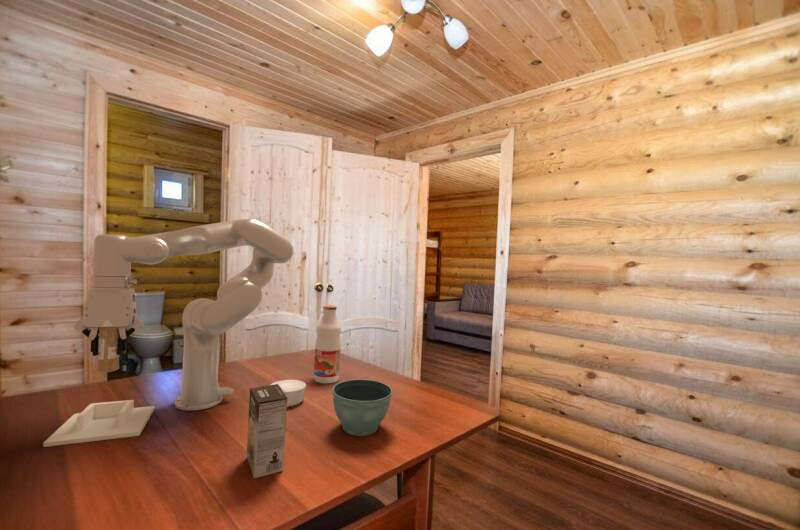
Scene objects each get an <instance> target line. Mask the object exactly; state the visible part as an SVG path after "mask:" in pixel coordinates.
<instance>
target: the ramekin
mask: <svg viewBox="0 0 800 530" xmlns="http://www.w3.org/2000/svg"><path fill="white" fill-rule="evenodd" d="M275 384H278V385H279V386H280V388H281V389H282V391H283V392H284V393H285V395H286V396H287V408H290V407H289V406H291V407H295V406H298V405H299V404H300V402H301V403H302V402H303V400H304V397H305V391H306V389H307V384H306V382H304V381H302V380H298V379H284V380H278V381H275V382H272V383H271V384H270V385H275ZM297 404H298V405H297ZM294 405H295V406H294Z"/></svg>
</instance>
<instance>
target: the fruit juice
mask: <svg viewBox="0 0 800 530" xmlns="http://www.w3.org/2000/svg"><path fill="white" fill-rule="evenodd" d="M337 309H338V308H337V305H331V304H330V305H329V304H326V305H323V314H322V318H321V319H320V321H319V323H318V324H317V325H316V336H317V337H316V340H315V344H314V345H315V346H314V362H313V363H314V365H313V380H314V382H316V383H318V382H319V384H333V382H334V383H336V382H338V380H340V379H339V378H340V369H341V368H340V366H341V365H340V363H341V349H342V348H341V346H342V343H341V338H340V336H341V332H342V326H341V324H340V322H339V321H338V318H337V314H336V313H337Z"/></svg>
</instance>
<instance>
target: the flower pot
mask: <svg viewBox="0 0 800 530" xmlns="http://www.w3.org/2000/svg"><path fill="white" fill-rule="evenodd" d="M392 395H393V389H392V388H391V386H390V385H388V384H386V383H384V382H380V381H377V380H373V379H372V380H371V379H349V380H343V381H341V382H337V383H336V384H334V386H333V387H332V397H333V400H332V401H333V408H334V411H335V415H336V418H337V419H338V421H339V422H340V424H341V425H342V429H343V431H344V432H345V433H346V434H349V435H351V436H357V437H364V436H369V435H373V434H375V433H376V432H377V431H378V428H379V425H380V424H381V423H382V422H383V420H384V419H385V417H386V415H387V412H388V411H389V408H390V404H391V398H392Z"/></svg>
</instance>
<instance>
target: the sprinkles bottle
mask: <svg viewBox="0 0 800 530" xmlns="http://www.w3.org/2000/svg"><path fill="white" fill-rule="evenodd" d="M119 339H120V333H119V329H118V328H115V327H113V325H112V323H111V322H110V321H105V322H104V323H103V325H102V328H99V340H98V355H97V369H96V371H97V372H98V373H111V372H115V371H117V370H119V369H120V356H121V355H118V354H117V352H118V340H119Z"/></svg>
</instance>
